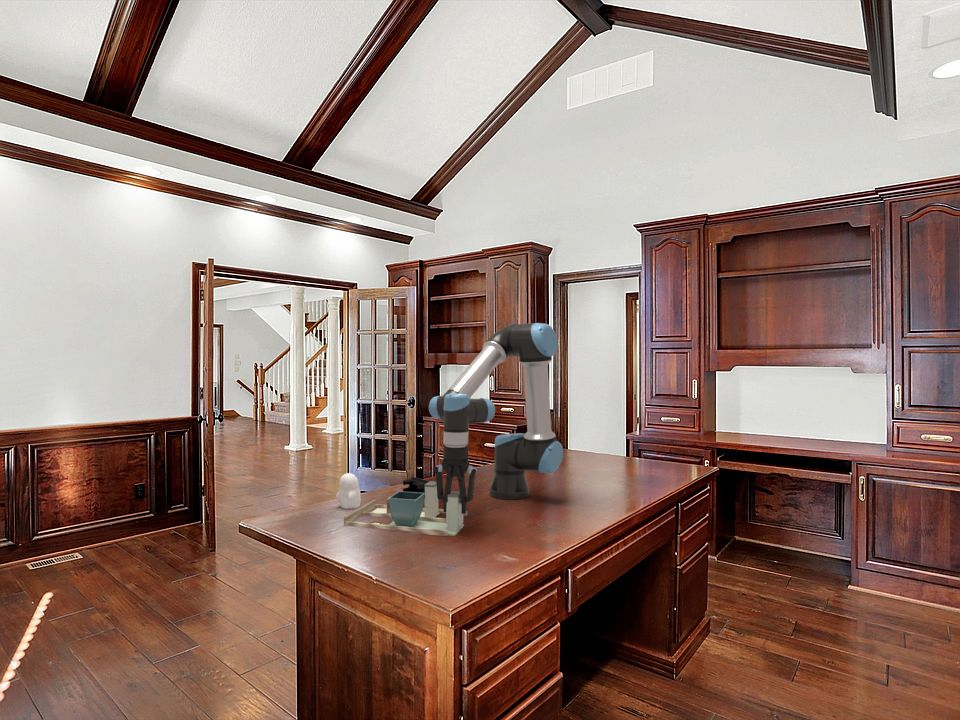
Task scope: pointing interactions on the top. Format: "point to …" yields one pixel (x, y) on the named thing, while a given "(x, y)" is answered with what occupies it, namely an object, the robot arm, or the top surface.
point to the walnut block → (388, 506)
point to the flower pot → (406, 507)
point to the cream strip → (430, 501)
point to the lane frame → (373, 504)
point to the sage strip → (452, 517)
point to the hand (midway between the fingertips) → (454, 523)
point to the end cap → (415, 485)
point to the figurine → (349, 492)
